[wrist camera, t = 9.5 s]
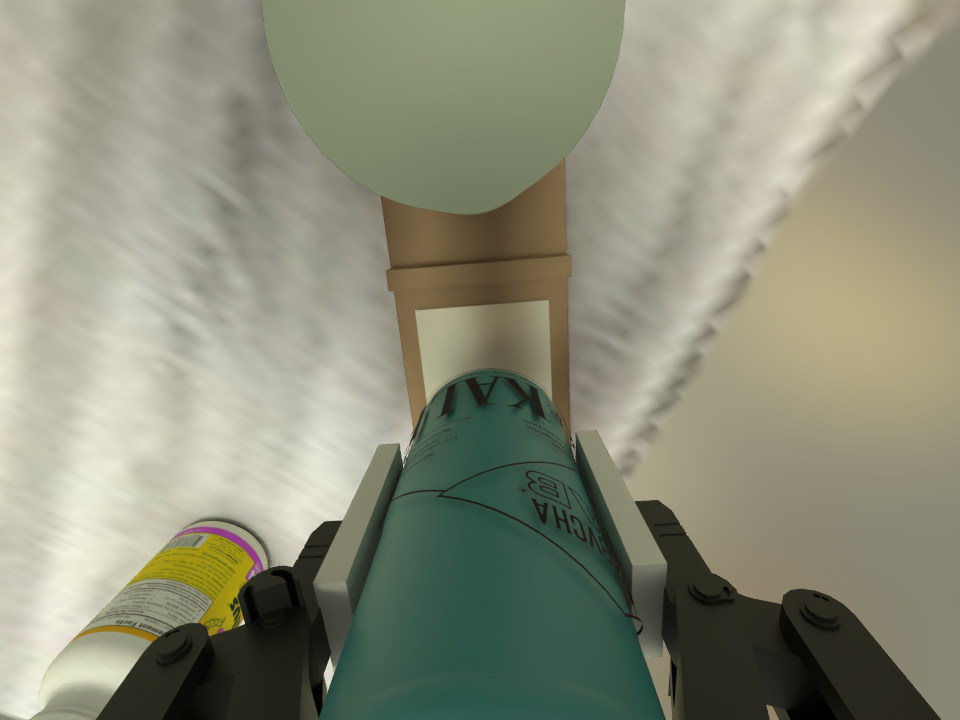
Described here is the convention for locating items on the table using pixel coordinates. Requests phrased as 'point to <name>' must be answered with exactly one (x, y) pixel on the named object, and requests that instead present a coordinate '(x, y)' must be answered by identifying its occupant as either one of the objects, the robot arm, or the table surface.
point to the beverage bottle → (491, 577)
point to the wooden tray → (483, 292)
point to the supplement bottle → (152, 615)
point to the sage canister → (445, 89)
